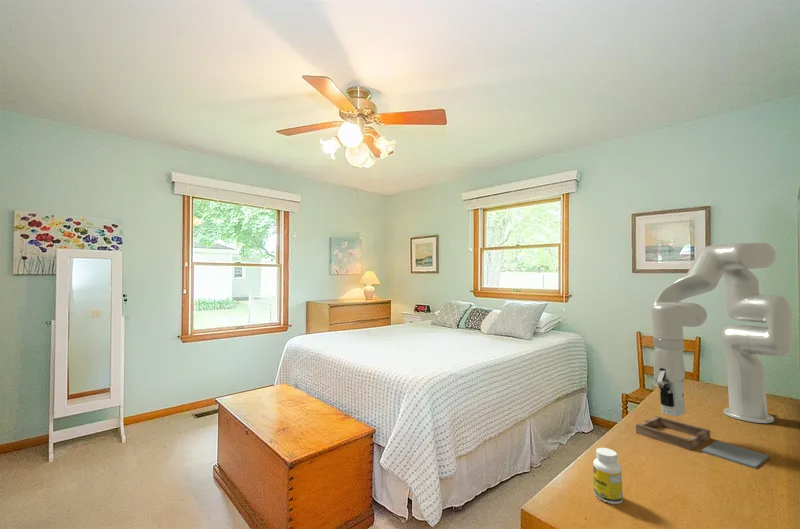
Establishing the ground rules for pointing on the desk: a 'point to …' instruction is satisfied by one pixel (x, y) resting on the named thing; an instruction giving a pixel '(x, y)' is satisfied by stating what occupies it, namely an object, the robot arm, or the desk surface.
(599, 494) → the supplement bottle
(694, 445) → the brown wooden frame
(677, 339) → the robot arm
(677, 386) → the skincare box
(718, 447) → the pad
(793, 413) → the desk surface
